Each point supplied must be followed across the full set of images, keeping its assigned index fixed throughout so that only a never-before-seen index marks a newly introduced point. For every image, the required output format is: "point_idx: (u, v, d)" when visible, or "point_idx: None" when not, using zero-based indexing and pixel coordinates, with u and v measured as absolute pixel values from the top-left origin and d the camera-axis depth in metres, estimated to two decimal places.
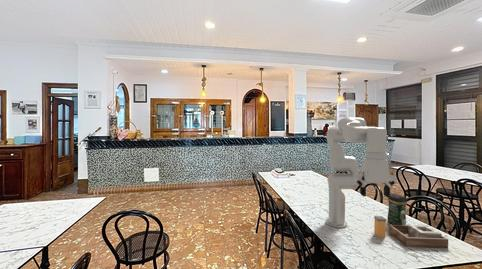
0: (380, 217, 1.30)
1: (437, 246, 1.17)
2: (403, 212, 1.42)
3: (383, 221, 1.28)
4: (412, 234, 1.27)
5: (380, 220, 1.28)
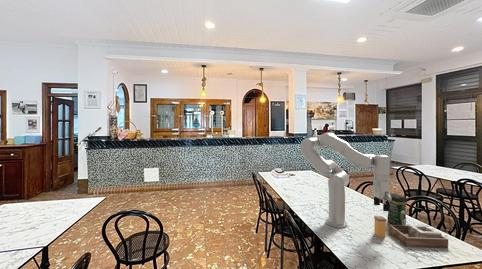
0: (380, 217, 1.30)
1: (437, 246, 1.17)
2: (403, 212, 1.42)
3: (383, 221, 1.28)
4: (412, 234, 1.27)
5: (380, 220, 1.28)
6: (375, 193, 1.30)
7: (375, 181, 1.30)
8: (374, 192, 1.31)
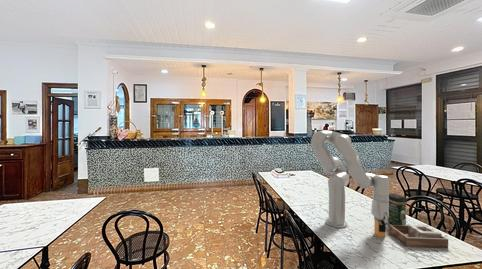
0: None
1: (437, 246, 1.17)
2: (403, 212, 1.42)
3: None
4: (412, 234, 1.27)
5: None
6: (374, 212, 1.30)
7: (374, 201, 1.31)
8: (373, 211, 1.32)
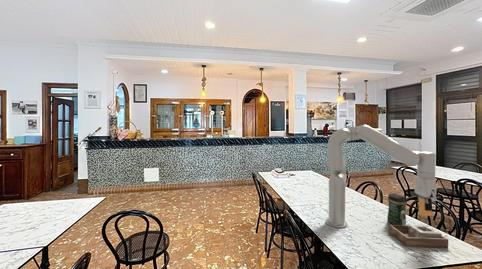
0: None
1: (437, 246, 1.17)
2: (403, 212, 1.42)
3: None
4: (412, 234, 1.27)
5: None
6: (419, 191, 1.25)
7: (419, 179, 1.25)
8: (417, 190, 1.26)
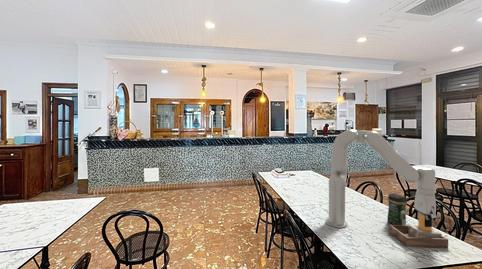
0: None
1: (437, 246, 1.17)
2: (403, 212, 1.42)
3: (429, 215, 1.22)
4: (412, 234, 1.27)
5: None
6: (419, 207, 1.25)
7: (418, 195, 1.25)
8: (417, 206, 1.26)
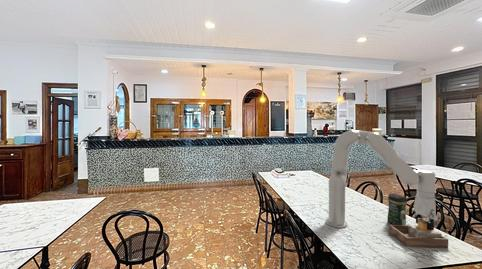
0: (424, 219, 1.25)
1: (437, 246, 1.17)
2: (403, 212, 1.42)
3: None
4: (412, 234, 1.27)
5: (425, 222, 1.23)
6: (418, 210, 1.25)
7: (418, 197, 1.25)
8: (416, 209, 1.26)
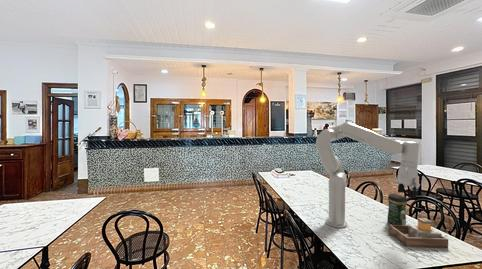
0: (424, 219, 1.25)
1: (437, 246, 1.17)
2: (403, 212, 1.42)
3: (428, 223, 1.22)
4: (412, 234, 1.27)
5: (425, 222, 1.23)
6: (401, 179, 1.28)
7: (402, 168, 1.28)
8: (400, 179, 1.29)
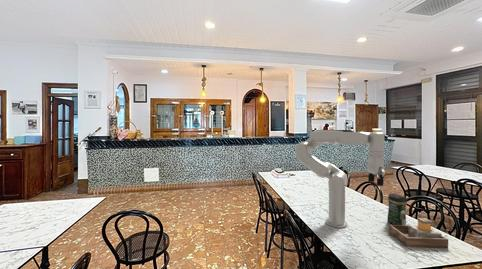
0: (424, 219, 1.25)
1: (437, 246, 1.17)
2: (403, 212, 1.42)
3: (428, 223, 1.22)
4: (412, 234, 1.27)
5: (425, 222, 1.23)
6: (370, 169, 1.34)
7: (370, 157, 1.34)
8: (369, 168, 1.35)
